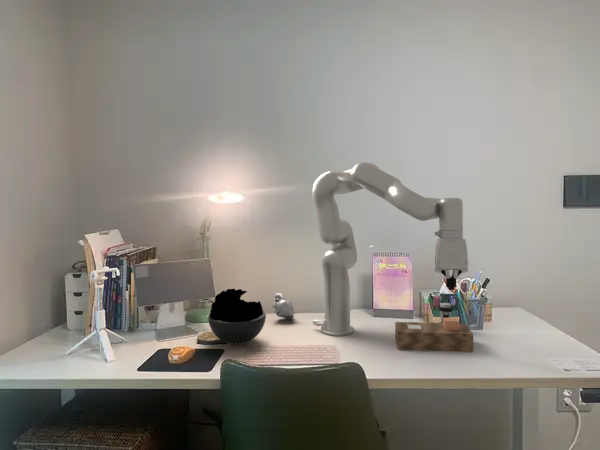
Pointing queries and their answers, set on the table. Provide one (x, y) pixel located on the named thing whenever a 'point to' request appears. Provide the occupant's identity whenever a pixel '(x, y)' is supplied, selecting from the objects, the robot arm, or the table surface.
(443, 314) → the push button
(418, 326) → the grey plunger
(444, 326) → the orange block
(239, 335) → the coal bowl
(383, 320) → the table surface
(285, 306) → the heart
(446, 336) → the button box
